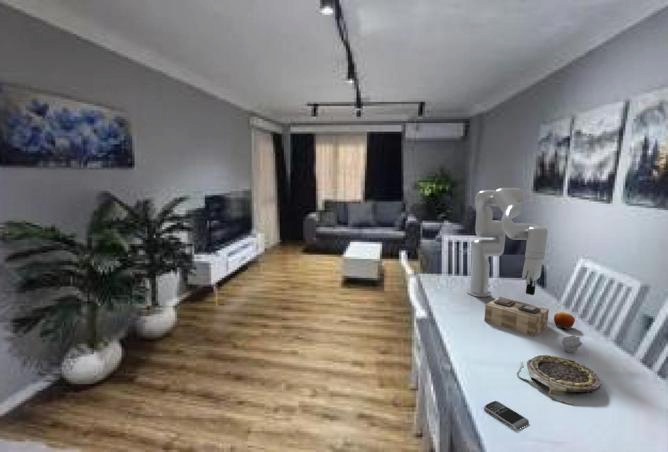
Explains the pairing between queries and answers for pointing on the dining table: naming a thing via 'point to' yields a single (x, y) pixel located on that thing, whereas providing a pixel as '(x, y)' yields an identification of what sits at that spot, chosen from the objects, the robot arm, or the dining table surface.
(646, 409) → the dining table surface
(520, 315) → the oak block
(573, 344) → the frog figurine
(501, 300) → the walnut peg
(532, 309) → the grey metal peg
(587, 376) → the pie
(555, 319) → the fruit
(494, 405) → the cell phone
